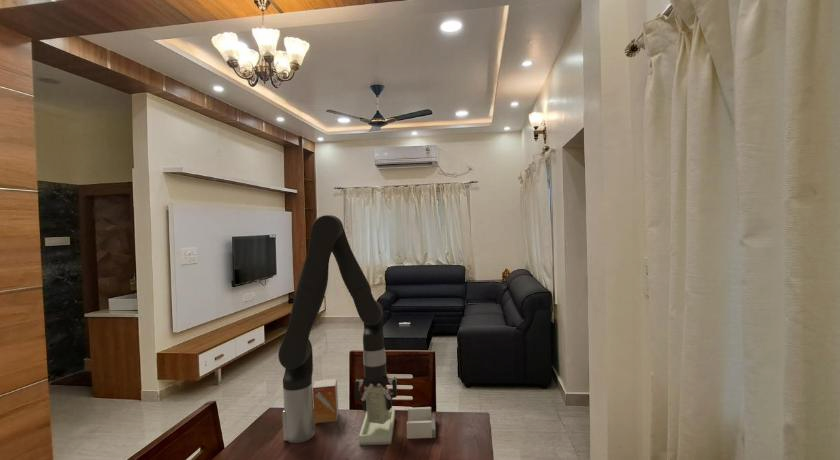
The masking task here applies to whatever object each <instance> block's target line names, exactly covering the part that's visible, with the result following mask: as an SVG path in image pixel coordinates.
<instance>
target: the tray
mask: <svg viewBox="0 0 840 460" xmlns="http://www.w3.org/2000/svg"><path fill="white" fill-rule="evenodd" d="M395 411H396V410H395V409H392V410H391V409H390V410H389V419H388V420H387V421H386V422H385V423H384V424H378V423H371V422H368V417H367V411H365V416H364V417H363V422H362V425H361V428H360V432H359V435H358V440H359V441H358V442H359V443H358V445H359V446H375V445H376V446H379V445H382V446H383V445H392V441H393V433H394V428H395V420H396V412H395Z"/></svg>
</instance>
